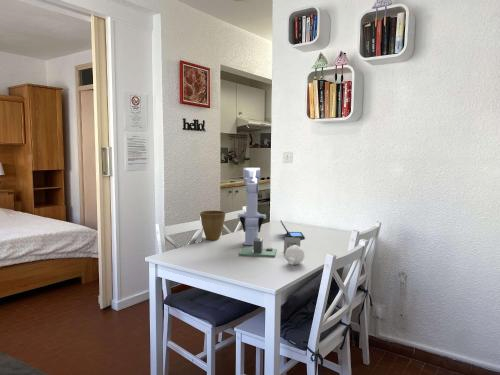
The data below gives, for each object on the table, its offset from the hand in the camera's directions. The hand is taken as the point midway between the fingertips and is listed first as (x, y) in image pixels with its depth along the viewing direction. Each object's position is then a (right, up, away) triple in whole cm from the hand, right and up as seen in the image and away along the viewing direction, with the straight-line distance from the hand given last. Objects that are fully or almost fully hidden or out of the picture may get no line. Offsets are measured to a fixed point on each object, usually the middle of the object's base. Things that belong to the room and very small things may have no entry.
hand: (251, 231), depth 200 cm
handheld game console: (+25, -7, +34) cm, 42 cm away
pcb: (+3, -10, -4) cm, 12 cm away
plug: (+3, -9, -5) cm, 11 cm away
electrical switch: (+21, -11, -4) cm, 23 cm away
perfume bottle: (+19, -13, -24) cm, 33 cm away
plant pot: (-23, -7, +26) cm, 36 cm away
